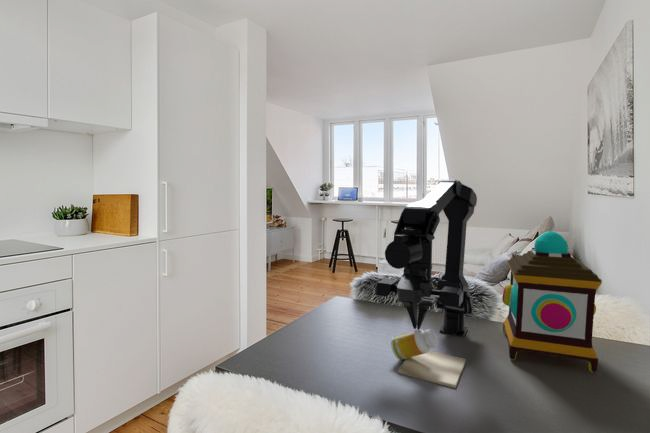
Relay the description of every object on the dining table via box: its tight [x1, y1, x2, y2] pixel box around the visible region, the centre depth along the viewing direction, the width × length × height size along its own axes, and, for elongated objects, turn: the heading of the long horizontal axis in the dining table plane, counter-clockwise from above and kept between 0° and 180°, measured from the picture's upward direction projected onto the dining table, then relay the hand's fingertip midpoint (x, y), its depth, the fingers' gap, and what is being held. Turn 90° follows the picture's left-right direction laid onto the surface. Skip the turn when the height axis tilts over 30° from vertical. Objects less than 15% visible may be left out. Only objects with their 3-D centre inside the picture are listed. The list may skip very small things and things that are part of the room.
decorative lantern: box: [502, 230, 603, 374], centre depth 90 cm, size 20×20×30 cm
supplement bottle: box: [390, 328, 439, 361], centre depth 85 cm, size 5×5×10 cm
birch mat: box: [397, 350, 467, 389], centre depth 83 cm, size 13×12×1 cm
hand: (416, 328), depth 84 cm, fingers closed
